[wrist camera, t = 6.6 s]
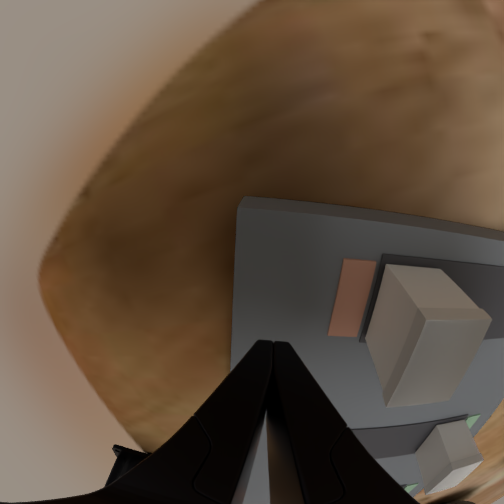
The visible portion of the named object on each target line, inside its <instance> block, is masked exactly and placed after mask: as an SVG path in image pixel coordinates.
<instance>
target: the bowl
mask: <svg viewBox="0 0 504 504" xmlns="http://www.w3.org/2000/svg"><path fill="white" fill-rule="evenodd" d="M444 504H475V503H473V502H470V501H453V502H448V503H444Z"/></svg>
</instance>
